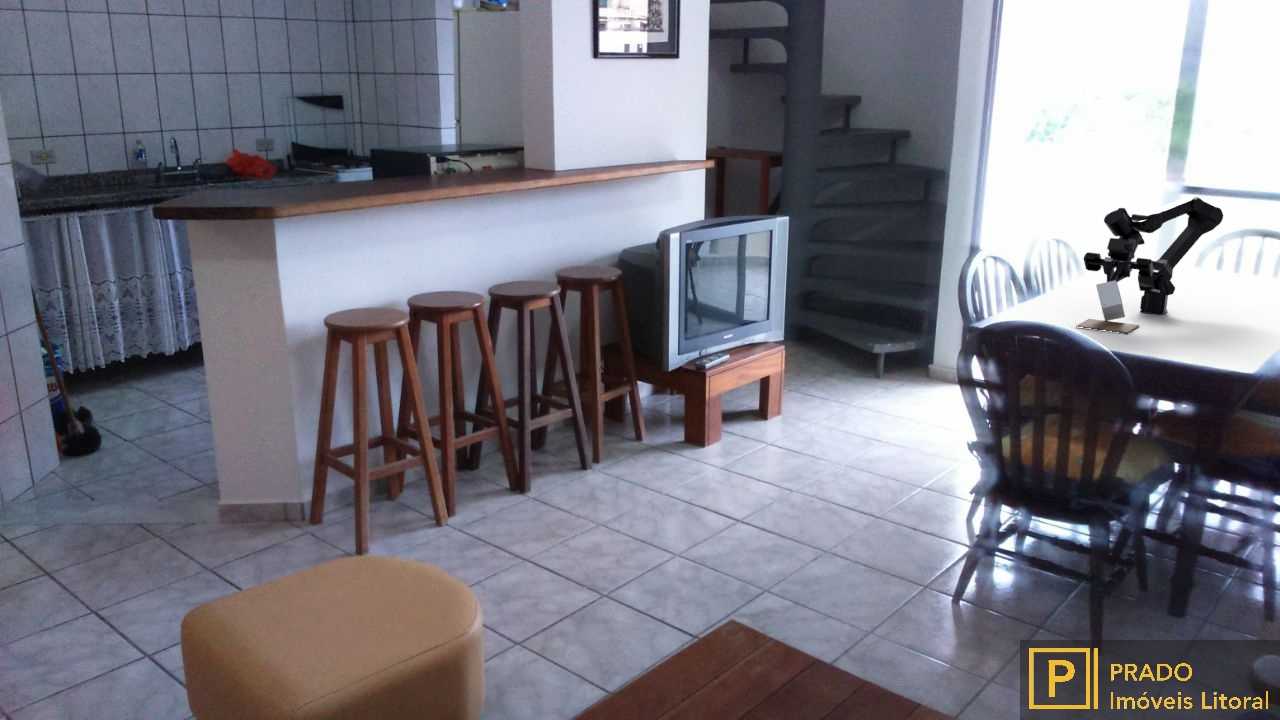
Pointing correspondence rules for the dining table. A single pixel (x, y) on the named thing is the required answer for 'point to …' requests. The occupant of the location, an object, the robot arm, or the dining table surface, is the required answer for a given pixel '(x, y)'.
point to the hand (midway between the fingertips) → (1108, 286)
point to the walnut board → (1108, 326)
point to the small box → (1110, 300)
